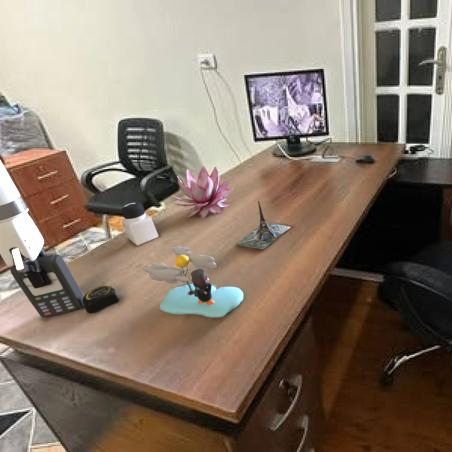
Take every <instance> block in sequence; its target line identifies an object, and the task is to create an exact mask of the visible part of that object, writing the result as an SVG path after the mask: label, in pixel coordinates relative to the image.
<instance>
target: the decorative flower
mask: <svg viewBox="0 0 452 452" xmlns="http://www.w3.org/2000/svg"><path fill="white" fill-rule="evenodd" d="M176 177H177V183H178V186H179V188H180V190H181V192H182V193H183V194H184V195H185V196H186V197H188V198H183V197H178V196H175V195H173V194H172V195H171V194H170V196H171V197H172V198H174V199H176V200H178V201H181V202H184V204H183V203H176V202H174V203H173V204H174V205H175V206H180V207H191V208H188V209H186V210H184V212H190V211H192V212H191V213H190V214H189V215H188V216H187V217H186V219H187V218H190V217H193V216H194V215H196V214H197V213H198V216H200V218H201V220H203V219H204V218H206V217H207V216H208V215H209V212H211V213H212V214H214V215H216V214H223V210H222V208H226V207H230V206H232V204H231V203H229V202H226V201H227V200H228V198H226V197H228V196H229V195H230V194H231V193H232V192H233V190H234V189H235V186H233V187H230V188H228V185H229V181H230V180H229V179H227V180H225V181H224V182H223V183H221V184H220V175H219V171H218V168H217V166H214V167H213V170H212V171H211V173H210V174H209V172H208V171H207V168H206V167H205V165H202V166H201V169H200V170H199V173H198V177H197V179H196V178H195V176H194V174H193V173H192V172H191V171H190V170H189V169H187V170H186V183H187V185H186V184H184V182H183V181H182V180H181V179H180V178H179V176H178V175H177V176H176ZM227 188H228V189H227ZM186 203H187V204H186Z"/></svg>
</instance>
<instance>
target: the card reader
mask: <svg viewBox="0 0 452 452" xmlns="http://www.w3.org/2000/svg"><path fill="white" fill-rule="evenodd" d="M36 259H37V262H38V264H39V266H40V268H41V269H44V271H45V272H46V274H47V276H48V277H49V279H50V281H51V284H50V285H47V286H44V287H40V288H36V289H35V288H34V287H33V286H32V284H31V282H30V281H29V279H28V278H27V276H25V275H24V273H22V272H18V271H17V268H16V264H15V265H14V266H13V267H10V269H9V271H10V274H11V275H12V277H13V278H14V280H15V281H16V283H17V285H18V286H19V287H20V289H21V291H22V292H23V294H24V295H25V296H26V298H27V299H28V301H29V302H30V304H31V305H32V306H33V307H34V309H35V310H36V312H37V314H38V315H39V316H40V317H41V318H46V319H48V318H52V317H56V316H61V315H64V314H67V313H71V312H76V311H80V310H81V309H83V308H85V306H84V304H83V297H84V296H85V295H84V294H83V293H82V291H81V289H80V287H79V284H78V283H77V281H76V279H75V277H74V276H73V274H72V272H71V271H70V269H69V267H68V265H67V263H66V261H65V259H64V258H63V256H62V255H61V254H60V253H58V254H56V253H52V254H47V256H44V257H39V258H36ZM26 265H28V266H29V265H32V266H34V265H33V263H32V262H31V263H28V264H26Z"/></svg>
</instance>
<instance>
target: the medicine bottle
mask: <svg viewBox="0 0 452 452" xmlns="http://www.w3.org/2000/svg"><path fill="white" fill-rule="evenodd" d="M143 205H144V204H142V203H141V202H131V203H128V204H126V205H124V206H122V207H121V210H120V212H121V213H122V216H123V218H124V219H122V220H121V223H122V225H123V229H124V230H125V232H126V235H127V237H128V239H129V240H130V241H131V242H132V243H133V244H134V245H136V246H138V247H139V246H140V245H143V244H145V243H148V242H150V241H152V240H154V239H156V238H159V232H158V229H157V227H156V226H155V222H154V219H153V217H151V216H150V215H148V214H147V213H146V211H145V207H144V206H143Z"/></svg>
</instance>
